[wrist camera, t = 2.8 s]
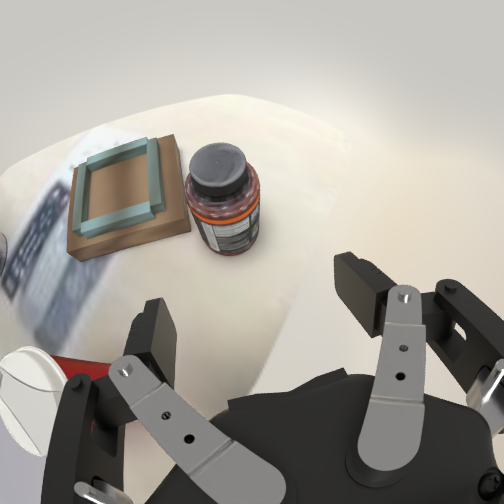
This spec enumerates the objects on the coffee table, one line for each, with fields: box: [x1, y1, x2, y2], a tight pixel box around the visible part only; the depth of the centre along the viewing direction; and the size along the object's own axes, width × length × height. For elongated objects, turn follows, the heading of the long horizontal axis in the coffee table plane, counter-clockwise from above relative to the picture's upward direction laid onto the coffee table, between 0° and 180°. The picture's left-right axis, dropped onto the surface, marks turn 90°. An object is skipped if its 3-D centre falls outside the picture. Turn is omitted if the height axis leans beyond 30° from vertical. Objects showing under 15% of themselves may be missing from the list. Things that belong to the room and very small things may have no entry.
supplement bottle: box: [184, 143, 260, 255], centre depth 23 cm, size 6×6×11 cm
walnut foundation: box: [67, 134, 191, 262], centre depth 28 cm, size 14×12×4 cm
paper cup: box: [0, 346, 112, 458], centre depth 16 cm, size 8×8×14 cm
